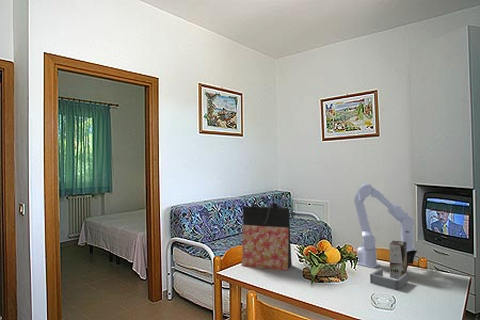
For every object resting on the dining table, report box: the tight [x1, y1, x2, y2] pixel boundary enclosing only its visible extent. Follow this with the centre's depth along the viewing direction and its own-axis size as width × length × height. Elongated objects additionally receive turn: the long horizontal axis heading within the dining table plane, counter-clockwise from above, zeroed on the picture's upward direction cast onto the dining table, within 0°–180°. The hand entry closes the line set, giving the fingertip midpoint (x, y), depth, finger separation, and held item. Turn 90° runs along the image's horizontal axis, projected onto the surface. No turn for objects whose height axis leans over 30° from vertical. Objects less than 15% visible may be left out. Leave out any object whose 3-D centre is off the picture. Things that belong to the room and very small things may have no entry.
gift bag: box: [241, 202, 296, 272], centre depth 168 cm, size 29×14×35 cm, turn 69°
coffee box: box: [389, 240, 408, 279], centre depth 151 cm, size 9×6×16 cm
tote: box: [369, 267, 408, 291], centre depth 142 cm, size 12×12×4 cm
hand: (407, 265), depth 160 cm, fingers open, 7 cm apart
